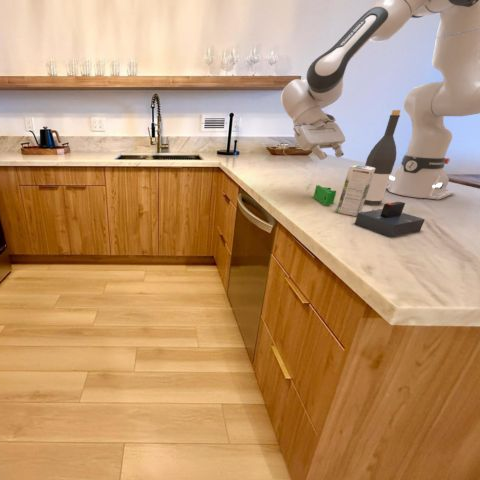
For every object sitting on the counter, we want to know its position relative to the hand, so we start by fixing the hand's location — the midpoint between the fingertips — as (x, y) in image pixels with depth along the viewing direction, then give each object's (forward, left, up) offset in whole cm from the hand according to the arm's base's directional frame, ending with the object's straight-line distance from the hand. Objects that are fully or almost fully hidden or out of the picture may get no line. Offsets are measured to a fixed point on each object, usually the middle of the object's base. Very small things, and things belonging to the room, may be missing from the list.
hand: (332, 157), depth 92 cm
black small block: (0, +22, -13) cm, 26 cm away
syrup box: (-2, +9, -16) cm, 19 cm away
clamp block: (0, +22, -16) cm, 27 cm away
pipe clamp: (-5, -3, -16) cm, 17 cm away
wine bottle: (-19, +3, -16) cm, 25 cm away
